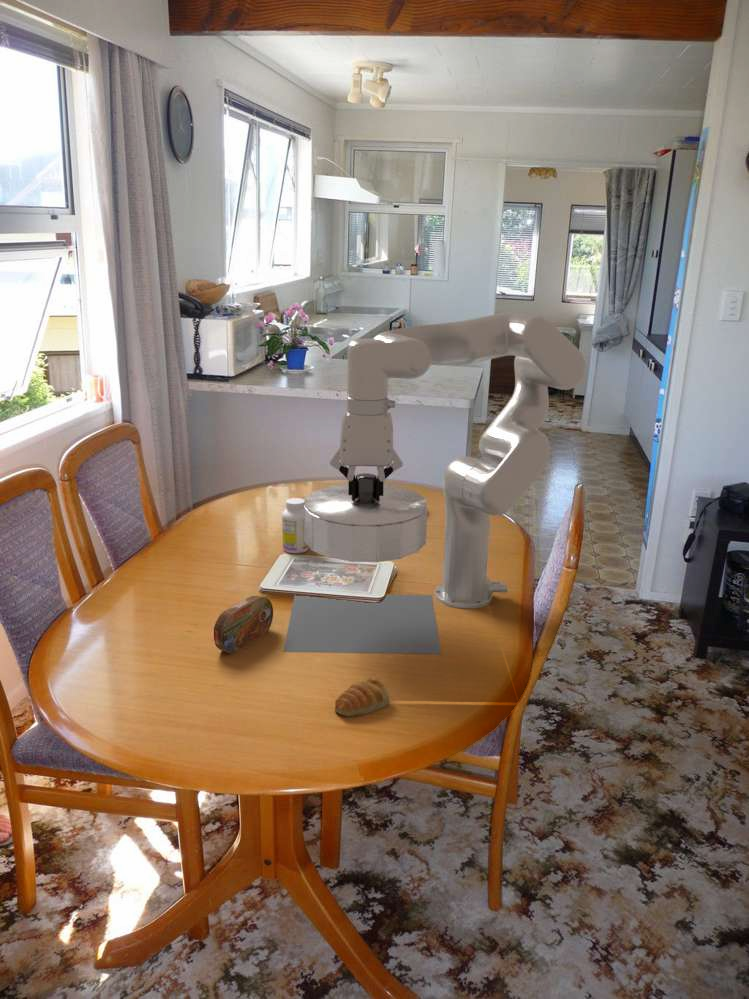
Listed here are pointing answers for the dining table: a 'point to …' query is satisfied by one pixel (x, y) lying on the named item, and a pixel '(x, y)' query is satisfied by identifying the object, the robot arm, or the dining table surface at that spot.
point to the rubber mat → (363, 626)
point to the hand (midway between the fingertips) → (365, 498)
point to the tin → (243, 623)
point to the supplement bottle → (294, 526)
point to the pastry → (362, 698)
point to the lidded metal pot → (365, 522)
